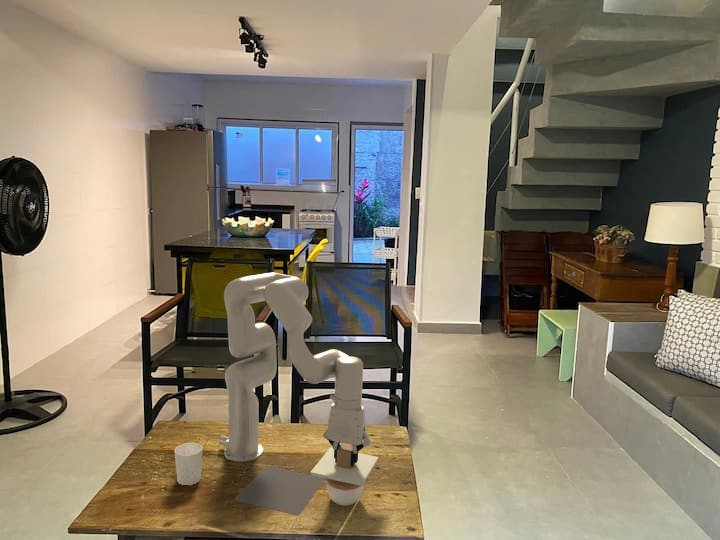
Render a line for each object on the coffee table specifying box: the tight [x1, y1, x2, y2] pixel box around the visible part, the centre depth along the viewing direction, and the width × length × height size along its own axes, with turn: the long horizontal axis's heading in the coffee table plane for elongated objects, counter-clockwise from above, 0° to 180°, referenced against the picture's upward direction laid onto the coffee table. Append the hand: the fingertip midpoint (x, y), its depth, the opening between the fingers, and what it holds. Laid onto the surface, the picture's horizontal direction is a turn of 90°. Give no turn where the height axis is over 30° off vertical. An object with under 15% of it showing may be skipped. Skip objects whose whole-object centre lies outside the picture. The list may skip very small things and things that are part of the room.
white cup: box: [174, 442, 203, 486], centre depth 168 cm, size 8×8×10 cm
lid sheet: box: [310, 443, 379, 486], centre depth 159 cm, size 15×15×6 cm
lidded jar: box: [326, 478, 365, 507], centre depth 161 cm, size 11×11×9 cm
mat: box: [233, 465, 327, 517], centre depth 166 cm, size 20×20×1 cm
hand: (345, 461), depth 160 cm, fingers closed on lid sheet, 3 cm apart
